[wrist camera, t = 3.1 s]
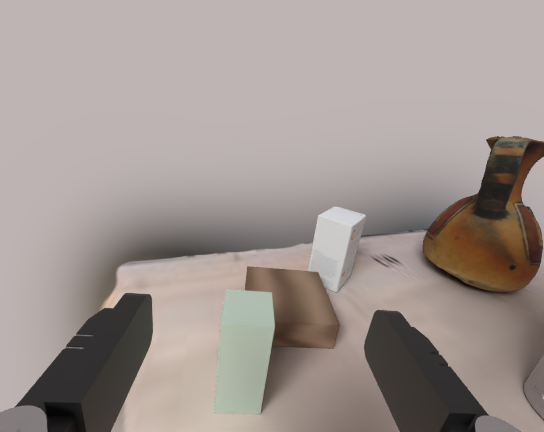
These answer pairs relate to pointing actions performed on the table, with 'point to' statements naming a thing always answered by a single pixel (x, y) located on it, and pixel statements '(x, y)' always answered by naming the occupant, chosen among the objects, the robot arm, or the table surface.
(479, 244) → the ceramic pitcher
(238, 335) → the sage block
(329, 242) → the small box
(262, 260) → the table surface
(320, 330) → the walnut base block
